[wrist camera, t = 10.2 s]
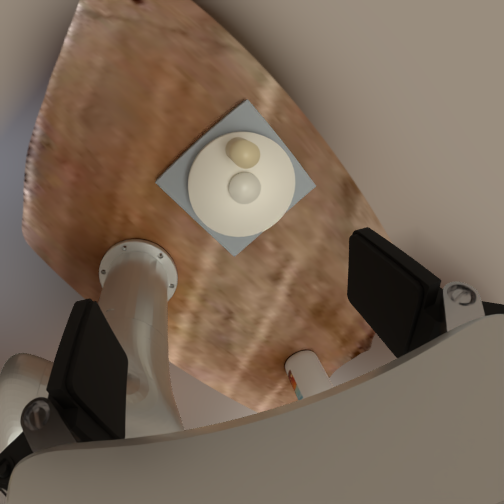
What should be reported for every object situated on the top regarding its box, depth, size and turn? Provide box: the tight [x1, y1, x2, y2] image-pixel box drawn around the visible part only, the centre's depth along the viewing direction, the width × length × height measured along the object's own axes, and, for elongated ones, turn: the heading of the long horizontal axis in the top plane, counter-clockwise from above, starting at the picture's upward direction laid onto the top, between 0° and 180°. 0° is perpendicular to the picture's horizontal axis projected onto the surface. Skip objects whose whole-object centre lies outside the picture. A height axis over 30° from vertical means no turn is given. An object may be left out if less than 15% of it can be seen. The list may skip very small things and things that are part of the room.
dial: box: [188, 131, 295, 237], centre depth 35 cm, size 14×14×7 cm
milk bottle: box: [285, 350, 333, 400], centre depth 53 cm, size 8×8×20 cm
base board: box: [155, 99, 316, 257], centre depth 39 cm, size 16×16×2 cm
